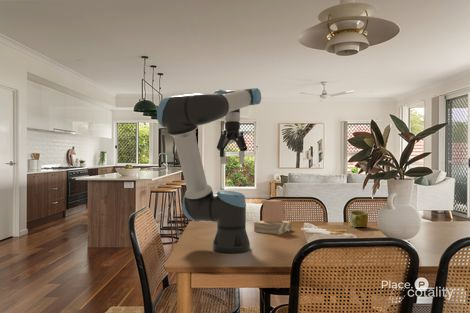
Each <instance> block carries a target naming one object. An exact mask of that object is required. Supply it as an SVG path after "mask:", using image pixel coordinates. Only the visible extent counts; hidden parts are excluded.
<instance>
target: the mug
mask: <svg viewBox="0 0 470 313" xmlns="http://www.w3.org/2000/svg"><path fill="white" fill-rule="evenodd" d="M368 220H369V216H368V212H366V211H363V210H353V211H350V212H349V221H350V222H349V223H350V224H349V225H350V227H351V226H354V227H366V228H367V227H368Z"/></svg>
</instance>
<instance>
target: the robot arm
mask: <svg viewBox="0 0 470 313" xmlns="http://www.w3.org/2000/svg"><path fill="white" fill-rule="evenodd" d="M261 102H262V93H261V90H260V89H259V88H257V87H251V88H243V89H229V90H223V89H217V90H215V91H214V92H213V93H192V94H181V95H171V96H166V97H163V98H162V99H161V100H160V102H159V103H158V106H157V108H156V118H157V122H158V124H159V125H160V126H161V127H163V128H166V130H167V134H168V135H169V136H170V137H172V138H173V141H174V145H175V149H176V152H177V156H178V160H179V164H180V167H181V171H182V175H183V179H184V180H183V181H184V183H185V187H186V190H185V193H184V195H183V197H182V200H181V202H182V204H181V207H182V209H181V210H182V212H183V214H184V215H185V217H186V218H187V219H189V220H192V221H195V222H201V221H202V222H212V223H217V224H216V234H215V236H214V239H213V242H212V250H213V251H215V252H218V253H222V254H223V253H224V254H238V253H245V252H249V250H250V249H251V242H250V239H249V236H248V233H247V229H246V228H247V227H246V222H247V221H246V215H247V208H246V207H247V204H246V196H245V194H243V193H241V192H238V191H234V190H233V191H232V190H224V189H222V190H217V193H214V192H213V188H212V186H211V185H209V184H208V182H207V177H206V174H205V170H204V166H203V161H202V157H201V156H202V155H201V153H200V148H199V145H198V140H197V136H196V130H197V129H198V126H202V125H206V124H210V123H212V122H215V121H218V120H220V119H223V118H224V120H225V122H224V129H225V130H223V129H221V132H220V133H221V134H220V137H219V140H218V142H217V145H216V149H217V151H219V158H220V164H221V165H223V164H224V165H225V164H227V163H226V155H227V153H226V152H227V151H226V150H225V149H226V147H227V146H228V144H229V142H230V141H233V142H234V143H235V144H236V145H237V147H238V149H239V151H238V164H241V165H243V164H245V152H246V151H247V150H248V147H247V144H246V140H245V137H244V132H243V131H240V128H241V113H240V112H241V111H240V110H241V109H243V108H245V107H249V106H255V105H259V104H261Z"/></svg>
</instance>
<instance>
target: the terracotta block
mask: <svg viewBox="0 0 470 313" xmlns="http://www.w3.org/2000/svg"><path fill="white" fill-rule="evenodd" d="M262 201H263V202H262V205H263V208H262V209H263V211H262V212H263V216H262V218H263V219H262V220H263V222H268V223H279V222H282V221H283V200H281V199H279V200H278V199H266V200H265V199H264V200H262Z"/></svg>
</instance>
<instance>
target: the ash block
mask: <svg viewBox="0 0 470 313" xmlns="http://www.w3.org/2000/svg"><path fill="white" fill-rule="evenodd" d="M253 223H254V224H253V227H254V230H253V232H257V233H264V234H271V235H282V234H284V232H285V233H287V231H288V232H291V231H292V221H290V220H289V221H288V220H282V222H279V223H268V222H263V219H262V220H259V221H255V222H253ZM290 230H291V231H290Z"/></svg>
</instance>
